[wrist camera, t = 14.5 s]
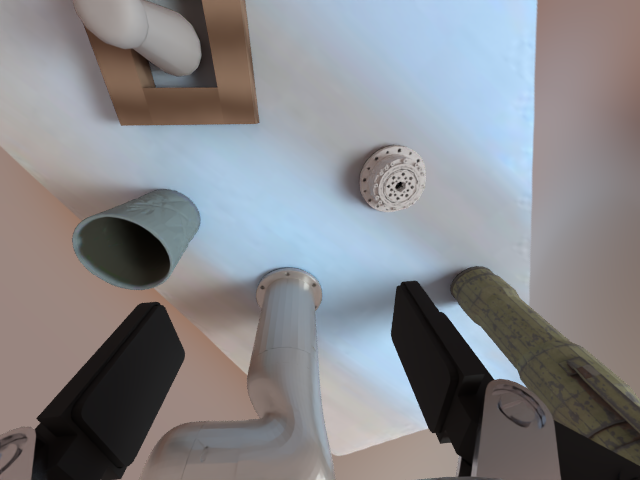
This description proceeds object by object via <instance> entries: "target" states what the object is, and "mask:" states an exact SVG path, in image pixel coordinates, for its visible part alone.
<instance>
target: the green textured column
mask: <svg viewBox="0 0 640 480" xmlns="http://www.w3.org/2000/svg"><path fill="white" fill-rule="evenodd" d="M450 291H451V293H452V295H453V297H454V298H456V300H457V301H458V304H459V305H460V306H461V308H462V309H463V310H464V311H465V313H466V314H467V315H468V316H469V317H470V318H471V319H472V320H473V321H474V322H475V323H476V324H478V325H479V326H481V327H482V328H483V330H484V331H485V332H486V333H487V334H488V336H489V337H490V338H491V339H492V340H493V342H494V343H495V344H496V345H497V346H498V348H499V349H500V350H501V351H502V352H503V354H504V355H505V356H506V357H507V358H508V360H509V361H510V362H511V363H512V364H513V366H514V367H515V368H516V369H517V370H518V373H519V376H520V379H521V380H522V382H523V383H524V384H525V385H526V387H527V388H528V389H529V390H530V391H531V392H533V393H534V394H535V395H537V396H538V397H539V398H540V399H541V400H542V401H543V403H544V404H545V405H546V406H547V408H548V409H549V411H550V413H551V414H552V417H553V420H555V421H557V422H559V423H561V424H563V425H564V426H566V427H568V428H570V429H572V430H574V431H576V432H577V433H579V434H581V435H583V436H585V437H587V438H589V439H591V440H592V441H594V442H596V443H598V444H600V445H602V446H604V447H605V448H607V449H609V450H611V451H613V452H615V453H617V454H619V455H620V456H622V457H624V458H626V459H628V460H630V461H632V462H634V463H635V464H637V465H639V466H640V400H639V398H638V397H637V395H636V394H635V393H634V392H633V390H632V389H631V388H630V386H629V385H627V384H626V383H625V382H624V381H623V380H621V379H620V378H619V377H618V376H617V375H615V374H614V373H613V372H612V371H611V370H609V369H608V368H607V367H606V366H605V365H603V364H602V363H601V362H600V361H599V360H598V359H596V358H595V357H594V356H593V355H592V354H590V353H589V352H588V351H587V350H585V349H584V348H583V347H581V346H579V345H577V344H574V343H572V342H570V341H569V340H568V339H567V338H566V337H564V336H563V335H562V334H561V333H560V332H558V331H557V330H556V329H555V328H554V327H553V326H552V325H550V324H549V323H548V322H547V321H546V320H545V319H543V318H542V317H541V316H540V315H539V314H538V313H536V312H535V311H534V310H533V309H532V308H530V307H529V306H528V305H527V304H526V303H525V302H524V301H522V300H521V299H520V298H519V296H518V294H517V292H516V290H515V289H513V288H512V287H511V286H510V285H509V284H507V283H506V282H505V281H504V280H503V279H501V278H500V277H499V276H497V275H495V274H493V273H492V272H491V271H490V270H489V269H488V268H485V267H472V268H469V269H467V270H465V271H463V272H461V273H460V274H459V275H457V277H456V278H455V279H454V280H453V282H452V284H451V290H450Z"/></svg>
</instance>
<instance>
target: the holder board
mask: <svg viewBox="0 0 640 480" xmlns="http://www.w3.org/2000/svg"><path fill="white" fill-rule="evenodd" d="M202 4H203V10H204V15H205V21H206V26H207V32H208V37H209V43H210V48H211V54H212V59H213V65H214V70H215V76H216V81H217V87H218V88H156V87H155V83H154V80H153V76H152V73H151V69H150V66H149V62H148V60H147V59H146V58H145V57H143V56H142V55H141V54H139V53H138V52H137V51H135V50H134V49H132V48H131V49H122V48H119V47H116V46H113V45H110V44H107V43H105V42H103V41H102V40H100V39H99V38H98V37H97V36H96V35H94V34H93V33H92V32H91V31H90V30H89V29H87V28H86V26H85V25H84V27H85V29H86V32H87V35H88V38H89V40H90V43H91V46H92V48H93V51H94V54H95V56H96V59H97V62H98V65H99V67H100V70H101V73H102V75H103V78H104V81H105V84H106V86H107V89H108V92H109V94H110V97H111V100H112V102H113V105H114V108H115V111H116V113H117V116H118V119H119V121H120V124H121V125H200V124H257V123H259V115H258V107H257V98H256V90H255V81H254V73H253V64H252V56H251V47H250V39H249V30H248V22H247V13H246V5H245V0H202ZM83 24H84V23H83Z"/></svg>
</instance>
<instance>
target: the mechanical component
mask: <svg viewBox="0 0 640 480" xmlns="http://www.w3.org/2000/svg"><path fill="white" fill-rule="evenodd" d="M398 149H399V150H398ZM375 157H377V158H376V159H375ZM364 178H365V180H363V179H364ZM425 179H426V169H425V165H424V162H423V160H422V158H421V157H420V156H419V155H418V154H417V153H416V152H415V151H414V150H411V149H409V148H407V147H404V146H396V145H393V146H388V147H385V148H383V149H381V150H378V151H376V152H375V153H374V154H373V155H372V156H371V157H370V158H369V159H368V160H367V161H366V163H365V164H364V166H363V169H362V171H361V173H360V181H359V185H360V192H361V194H362V196H363V197H364V199H365V201H366V202H367V203H368V204H369V205H370V206H371V207H372V208H374V209H376V210H379V211H383V212H394V211H398V210H402V209H405V208H406V209H407V208H409V206H411V205H414V203H415V202H416V201H418V200H419V197H420V196H421V194H422V192H423V190H424V189H425ZM399 182H402V183H401V185H400V186H399V187H398V183H399ZM395 187H396V188H397V189H396V188H395Z"/></svg>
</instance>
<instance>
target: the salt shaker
mask: <svg viewBox="0 0 640 480" xmlns="http://www.w3.org/2000/svg"><path fill="white" fill-rule="evenodd" d="M73 3H74V7H75V10H76V13H77V14H78V16H79V17H80V19H81V20H82V22H83V23H84V25H85V26H86V28H87V29H89V30H90V31H91V32H92V33H93V34H94V35H96V36H97V37H98V38H99V39H100V40H102V41H103V42H105V43H107V44H110V45H113V46H116V47H119V48H122V49H131V48H132V49H134V50H135V51H137V52H138V53H139V54H141V55H142V56H143V57H145V58H146V59H147V60H149V61H150V62H152V63H153V64H154V65H156V66H157V67H158V68H160V69H161V70H162V71H164V72H165V73H168V74H171V75H174V76H177V77H178V76H185V75H191V74H192V73H193V72H194V71H195V70H196V69H197V68H198V66H199V63H200V60H201V56H202V54H201V45H200V40H199V38H198V36H197V34H196V32H195V30H194V28H193V26H192V25H191V24H190V23H189V22H188V21H187V20H186V19H185V18H184V17H183V16H182V15H181V14H180V13H178V12H175V11H173V10H170V9H168V8H165V7H162V6H160V5H157V4H154V3H151V2H149V1H146V0H73Z"/></svg>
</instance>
